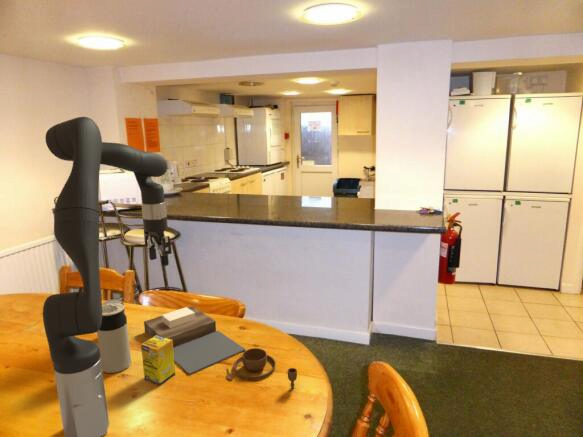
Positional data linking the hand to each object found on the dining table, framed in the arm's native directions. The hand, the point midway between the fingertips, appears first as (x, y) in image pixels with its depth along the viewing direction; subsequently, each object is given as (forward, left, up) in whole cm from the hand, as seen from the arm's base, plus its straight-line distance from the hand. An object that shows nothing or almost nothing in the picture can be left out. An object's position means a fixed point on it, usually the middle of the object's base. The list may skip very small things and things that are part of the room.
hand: (159, 262), depth 139 cm
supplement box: (-29, +14, -23) cm, 39 cm away
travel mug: (-15, +21, -23) cm, 35 cm away
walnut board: (-9, -2, -23) cm, 25 cm away
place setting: (-46, -7, -24) cm, 52 cm away
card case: (-8, -2, -19) cm, 21 cm away
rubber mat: (-25, -2, -23) cm, 34 cm away
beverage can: (+3, +15, -23) cm, 28 cm away
